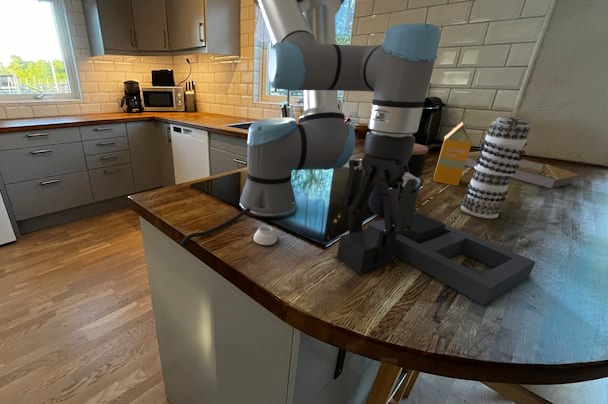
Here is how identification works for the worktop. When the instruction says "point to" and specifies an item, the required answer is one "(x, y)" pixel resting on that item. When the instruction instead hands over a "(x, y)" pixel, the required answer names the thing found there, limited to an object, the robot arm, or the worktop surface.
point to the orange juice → (453, 156)
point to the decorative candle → (496, 166)
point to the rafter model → (534, 172)
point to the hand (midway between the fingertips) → (365, 251)
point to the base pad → (464, 280)
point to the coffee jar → (415, 169)
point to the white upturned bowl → (265, 236)
